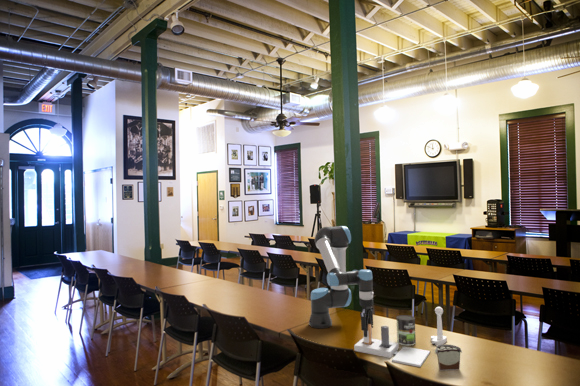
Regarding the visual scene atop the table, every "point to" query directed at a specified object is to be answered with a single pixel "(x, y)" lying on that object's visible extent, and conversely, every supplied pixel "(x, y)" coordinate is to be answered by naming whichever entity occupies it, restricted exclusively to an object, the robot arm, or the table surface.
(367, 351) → the housing
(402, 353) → the lid
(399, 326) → the coffee can
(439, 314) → the joystick
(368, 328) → the jaw pin orange
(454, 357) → the food container
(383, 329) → the ball
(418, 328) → the table surface
